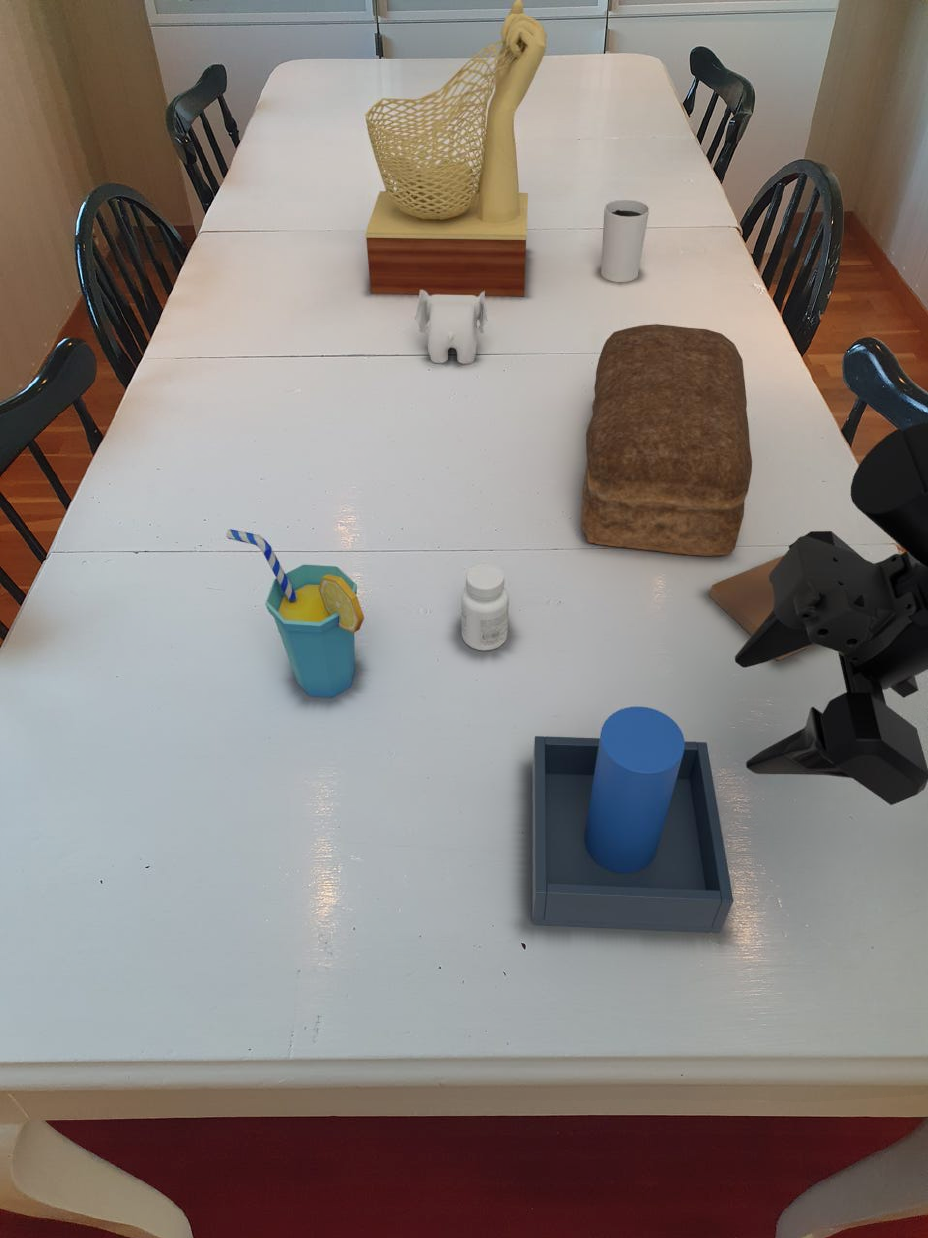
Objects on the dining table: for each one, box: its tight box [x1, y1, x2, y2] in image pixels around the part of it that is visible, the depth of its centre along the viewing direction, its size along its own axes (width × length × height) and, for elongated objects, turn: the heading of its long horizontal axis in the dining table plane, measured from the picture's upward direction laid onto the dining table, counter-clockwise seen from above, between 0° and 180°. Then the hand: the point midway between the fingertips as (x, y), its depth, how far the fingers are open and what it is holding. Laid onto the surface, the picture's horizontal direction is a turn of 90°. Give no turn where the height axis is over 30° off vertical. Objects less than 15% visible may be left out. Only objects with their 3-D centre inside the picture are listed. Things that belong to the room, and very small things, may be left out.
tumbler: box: [585, 706, 686, 873], centre depth 65 cm, size 6×6×13 cm
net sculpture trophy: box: [364, 0, 548, 297], centre depth 130 cm, size 25×18×35 cm
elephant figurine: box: [414, 290, 489, 365], centre depth 122 cm, size 10×12×9 cm
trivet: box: [709, 555, 815, 662], centre depth 88 cm, size 10×10×2 cm
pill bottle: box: [460, 563, 510, 651], centre depth 84 cm, size 4×4×8 cm
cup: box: [225, 528, 365, 699], centre depth 78 cm, size 14×8×15 cm, turn 62°
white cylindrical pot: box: [600, 199, 650, 283], centre depth 138 cm, size 7×7×10 cm
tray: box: [531, 735, 734, 934], centre depth 69 cm, size 14×14×5 cm
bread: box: [580, 323, 753, 557], centre depth 100 cm, size 17×30×13 cm, turn 170°
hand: (744, 713), depth 62 cm, fingers open, 9 cm apart
